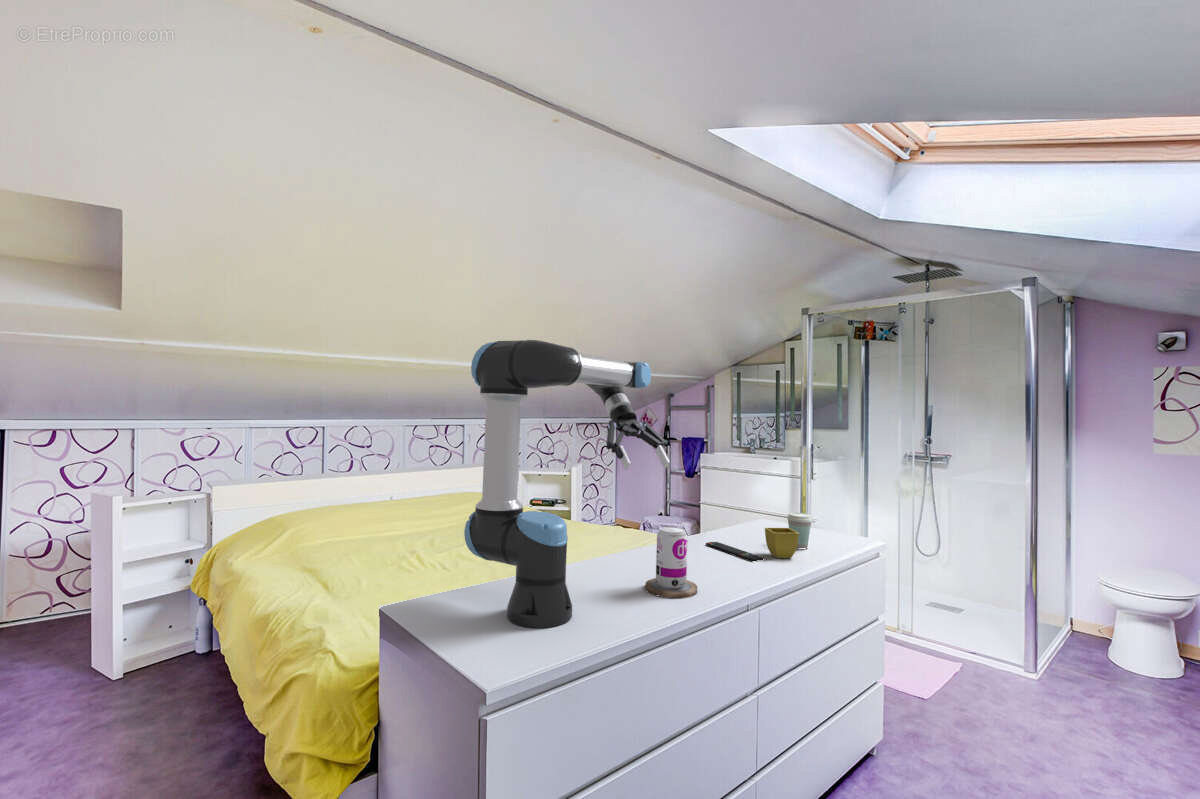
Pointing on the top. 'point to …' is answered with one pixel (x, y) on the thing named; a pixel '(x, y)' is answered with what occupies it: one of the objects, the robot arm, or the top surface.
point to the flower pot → (781, 541)
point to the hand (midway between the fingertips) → (647, 465)
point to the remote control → (734, 551)
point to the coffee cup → (800, 527)
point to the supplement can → (671, 557)
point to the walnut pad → (685, 591)
